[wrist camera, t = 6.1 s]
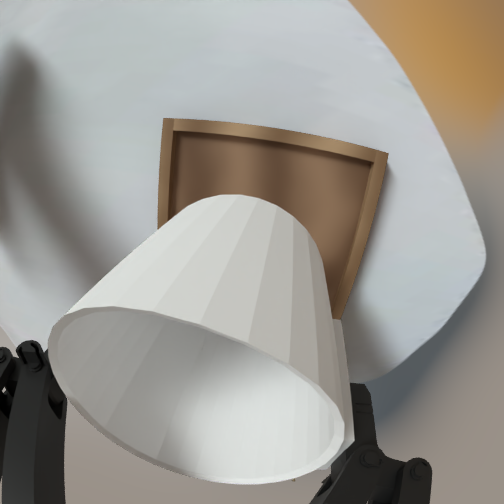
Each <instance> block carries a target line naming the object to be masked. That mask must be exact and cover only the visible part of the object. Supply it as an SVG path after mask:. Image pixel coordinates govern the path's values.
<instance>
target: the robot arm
mask: <svg viewBox="0 0 504 504" xmlns="http://www.w3.org/2000/svg"><path fill="white" fill-rule="evenodd" d="M332 320H333V327H334V334H335V341H336V348H337V356H338V364H339V372H340V381H341V390H342V401H343V411H344V423H345V424H344V440H343V442H342V444H341V446H340V448H339V450H338V452H337V453H336V454H335V455H334V456H333V457H332V458H331V459H330V460H329V461H328V462H327V463H326V464H324V465H322V466H321V467H319V468H317V469H320V470H326V469H328V468H329V467H330V466H331V474H330V475H329V476H328V477H327V478H326V479H325V480H323V481H322V483H323V485H322V487H321V488H320V489H319V491H318V492H317V494H316V495H315V497H314V498H313V500H312V501H311V502H310V504H366V503H367V501H368V504H429V503H430V494H431V483H432V468H431V466H430V464H429V462H427V461H426V460H425V459H422V458H413V459H411V460H409V461H408V462H403V461H399V460H395V459H391V458H389V457H387V456H385V454H384V453H383V452H382V450H381V449H379V448H378V445H377V440H376V431H375V423H374V416H373V409H372V406H371V404H372V402H371V396H370V393H369V391H368V389H367V388H366V386H365V384H356V383H350V382H349V373H348V365H347V357H346V350H345V343H344V336H343V329H342V322H341V320H338V319H332ZM16 353H17V355H18V356H19V358H16V357H13V355H12V354H11V352H10V350H9V349H8V348H6V347H0V481H1V478H2V504H65V503H66V502H65V486H64V441H65V424H66V412H67V398H66V395H65V394H64V392H63V391H62V389H61V388H60V386H59V384H58V382H57V380H56V378H55V376H54V374H53V372H52V368H51V365H50V361H49V357H48V349H47V350H46V351H45V352H43V350H42V348H41V345H40V344H39V343H38V342H37V341H33V340H29V341H25V342H22V343H21V344H20V345H19V346H18V347H17V349H16ZM4 387H5V388H6V391H5V392H4V393H3V392H2V390H3V388H4Z"/></svg>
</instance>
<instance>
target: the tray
mask: <svg viewBox="0 0 504 504" xmlns="http://www.w3.org/2000/svg"><path fill="white" fill-rule="evenodd" d="M388 154H389V153H386V152H382V151H379V150H375V149H371V148H368V147H364V146H360V145H356V144H352V143H348V142H344V141H339V140H335V139H331V138H326V137H321V136H316V135H311V134H306V133H301V132H295V131H289V130H283V129H277V128H271V127H264V126H256V125H248V124H240V123H231V122H220V121H209V120H194V119H174V118H163V128H162V139H161V152H160V168H159V188H158V229H159V228H161V227H162V226H163V225H164V224H166V223H167V222H168V221H169V220H170V219H172V218H173V217H174V216H175V215H177V214H178V213H179V212H181V211H182V210H183V209H184V208H186V207H187V206H189V205H191V204H193V203H195V202H197V201H199V200H201V199H204V198H209V197H213V196H217V195H245V196H250V197H256V198H260V199H262V200H265V201H267V202H270V203H272V204H275V205H277V206H279V207H280V208H282V209H283V210H285V211H286V212H288V213H289V214H291V215H292V216H294V217H295V218H296V219H297V220H298V221H299V222H300V223H301V224H302V225H303V226H304V227H305V228H306V229H307V231H308V232H309V234H310V235H311V237H312V239H313V240H314V242H315V243H316V245H317V248H318V250H319V253H320V256H321V258H322V262H323V267H324V272H325V278H326V284H327V289H328V295H329V301H330V307H331V314H332V319H338V320H340V319H341V316H342V314H343V311H344V308H345V306H346V303H347V300H348V297H349V295H350V292H351V289H352V286H353V283H354V280H355V277H356V274H357V271H358V268H359V265H360V262H361V259H362V256H363V252H364V249H365V246H366V243H367V239H368V236H369V232H370V229H371V225H372V222H373V218H374V214H375V210H376V207H377V203H378V199H379V195H380V190H381V186H382V182H383V178H384V173H385V169H386V164H387V159H388Z"/></svg>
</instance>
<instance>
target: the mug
mask: <svg viewBox="0 0 504 504" xmlns="http://www.w3.org/2000/svg"><path fill="white" fill-rule="evenodd" d="M48 357H49V361H50V365H51V368H52V372H53V374H54V376H55V378H56V380H57V382H58V384H59V386H60V388H61V389H62V391H63V392H64V394H65V395H66V397H67V398H68V399H69V401H70V402H71V404H72V405H73V406H74V407H75V408H76V409H77V410H78V411H79V413H80V414H81V415H82V416H83V417H84V418H85V419H86V420H87V421H88V422H89V423H90V424H92V425H93V426H94V427H95V428H96V429H97V430H98V431H99V432H101V433H102V434H103V435H105V436H106V437H107V438H109V439H110V440H112V441H113V442H114V443H116V444H117V445H119V446H121V447H122V448H124V449H125V450H127V451H129V452H131V453H132V454H134V455H136V456H138V457H140V458H142V459H144V460H146V461H148V462H150V463H152V464H154V465H157V466H160V467H162V468H165V469H167V470H170V471H173V472H176V473H179V474H182V475H186V476H189V477H193V478H197V479H202V480H208V481H213V482H220V483H230V484H263V483H273V482H279V481H284V480H289V479H293V478H296V477H299V476H302V475H305V474H307V473H310V472H312V471H314V470H316V469H317V468H319V467H321V466H322V465H324V464H326V463H327V462H328V461H329V460H330V459H331V458H332V457H333V456H334V455H335V454H336V453H337V452H338V450H339V448H340V446H341V444H342V442H343V440H344V424H345V423H344V411H343V401H342V390H341V381H340V372H339V364H338V356H337V348H336V341H335V334H334V327H333V320H332V314H331V307H330V301H329V295H328V289H327V284H326V278H325V272H324V267H323V262H322V258H321V256H320V253H319V250H318V248H317V245H316V243H315V242H314V240H313V239H312V237H311V235H310V234H309V232H308V231H307V229H306V228H305V227H304V226H303V225H302V224H301V223H300V222H299V221H298V220H297V219H296V218H295V217H294V216H292V215H291V214H289V213H288V212H286V211H285V210H283V209H282V208H280V207H279V206H277V205H275V204H272V203H270V202H267V201H265V200H262V199H260V198H256V197H250V196H245V195H217V196H213V197H209V198H204V199H201V200H199V201H197V202H195V203H193V204H191V205H189V206H187V207H186V208H184V209H183V210H182V211H181V212H179V213H178V214H177V215H175V216H174V217H173V218H172V219H170V220H169V221H168V222H167V223H166V224H164V225H163V226H162V227H161V228H159V229H158V230H157V231H156V232H155V233H153V234H152V235H151V236H150V237H149V238H148V239H146V240H145V241H144V242H143V243H142V244H140V245H139V246H138V247H137V248H136V249H135V250H133V251H132V252H131V253H130V254H129V255H128V256H127V257H125V258H124V259H123V260H122V261H121V262H120V263H119V264H118V265H116V266H115V267H114V268H113V269H112V270H111V271H110V272H109V273H108V274H107V275H105V276H104V277H103V278H102V279H101V280H100V281H99V282H98V283H97V284H96V285H95V286H94V287H93V288H92V289H90V290H89V291H88V292H87V293H86V294H85V295H84V296H83V297H82V298H81V299H80V300H79V301H78V302H77V303H76V304H75V305H74V306H73V307H72V308H71V309H70V310H69V311H68V312H67V313H66V314H65V315H64V316H63V317H62V318H61V319H60V320H59V321H58V322H57V323H56V324H55V325H54V326H53V328H52V331H51V333H50V336H49V339H48Z"/></svg>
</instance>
